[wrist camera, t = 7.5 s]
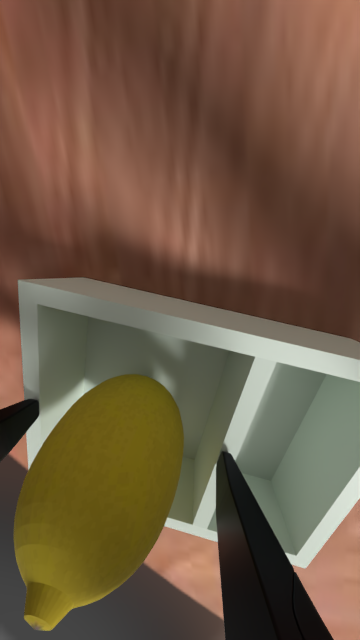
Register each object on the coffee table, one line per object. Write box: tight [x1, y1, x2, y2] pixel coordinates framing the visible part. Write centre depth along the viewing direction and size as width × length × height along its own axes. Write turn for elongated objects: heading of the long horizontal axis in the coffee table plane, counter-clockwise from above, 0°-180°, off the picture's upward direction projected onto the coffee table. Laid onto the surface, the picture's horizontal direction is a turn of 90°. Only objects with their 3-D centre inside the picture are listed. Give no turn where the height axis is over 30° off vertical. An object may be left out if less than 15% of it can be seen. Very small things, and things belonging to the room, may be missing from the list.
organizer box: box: [18, 277, 360, 569], centre depth 10 cm, size 16×12×4 cm
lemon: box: [14, 374, 184, 631], centre depth 8 cm, size 6×6×8 cm
